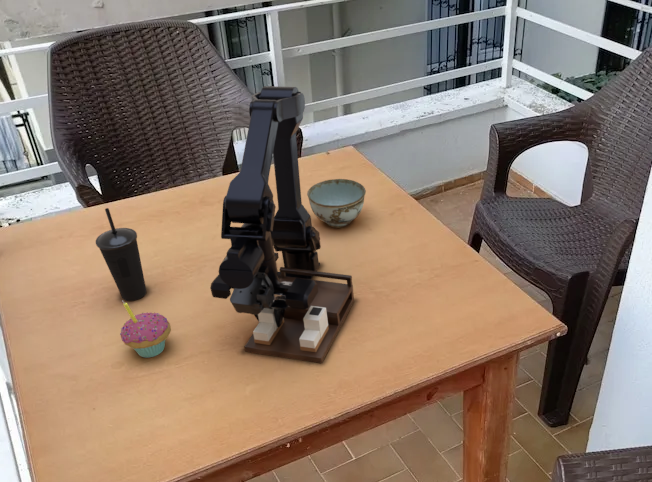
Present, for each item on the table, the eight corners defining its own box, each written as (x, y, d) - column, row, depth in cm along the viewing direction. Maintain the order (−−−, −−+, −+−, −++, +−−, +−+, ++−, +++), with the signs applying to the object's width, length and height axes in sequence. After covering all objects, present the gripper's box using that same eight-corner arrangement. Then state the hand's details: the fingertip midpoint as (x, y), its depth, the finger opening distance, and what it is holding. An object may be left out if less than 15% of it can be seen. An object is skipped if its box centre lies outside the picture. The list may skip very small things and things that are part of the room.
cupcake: (131, 370, 123) (112, 317, 116) (124, 343, 130) (105, 291, 122) (179, 354, 127) (164, 302, 119) (170, 329, 133) (155, 278, 126)
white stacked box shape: (313, 326, 131) (310, 305, 128) (328, 328, 130) (326, 307, 127) (300, 350, 125) (296, 328, 122) (315, 352, 125) (312, 330, 122)
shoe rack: (245, 351, 127) (239, 324, 123) (285, 292, 142) (280, 266, 138) (321, 363, 124) (318, 335, 120) (354, 301, 139) (351, 275, 135)
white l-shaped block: (269, 320, 132) (265, 298, 129) (284, 322, 132) (280, 300, 129) (254, 343, 127) (250, 321, 124) (269, 345, 126) (265, 323, 123)
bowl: (298, 226, 163) (294, 196, 159) (333, 202, 172) (330, 173, 168) (345, 241, 157) (342, 211, 153) (378, 216, 167) (376, 186, 162)
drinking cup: (161, 288, 144) (136, 203, 132) (135, 308, 138) (106, 222, 126) (133, 280, 146) (106, 196, 135) (106, 299, 141) (76, 214, 129)
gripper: (186, 274, 116) (205, 345, 125) (290, 288, 112) (301, 359, 121) (217, 240, 125) (232, 308, 134) (314, 251, 121) (323, 321, 130)
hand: (271, 324), depth 129 cm, fingers closed on white l-shaped block, 3 cm apart
